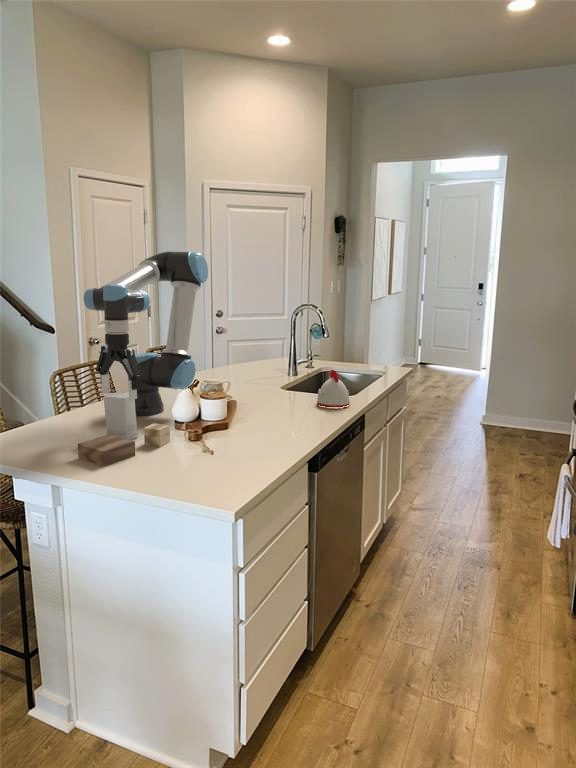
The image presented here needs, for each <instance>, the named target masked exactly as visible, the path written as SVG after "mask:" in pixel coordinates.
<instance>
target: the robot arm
mask: <svg viewBox="0 0 576 768" xmlns="http://www.w3.org/2000/svg"><path fill="white" fill-rule="evenodd" d="M208 278H209V267H208V261H207V260H206V258H205V256H204V254H202V253H200V252H198V251H197V252H195V251H164V252H163V251H162V252H160V253H157V254H154V255H151V256H150V257H147V258H145V259H144V260H142V261H141V262H139V264H138V266H136V267H135V268H133V269H131V270H129V271H127V272H126V273H124V274H122V275H121V276H119V277H117V278H115V279H114V280H112V281H110V282H109V283H107V284H105V285H103V286H100V287H98V288H96V287H94V288H88V289H86V290H85V292H84V293H83V303H84V306H85V308H86V309H88V310H91V311H96V312H98V311H99V312H103V313H104V314H103V315H104V318H103V319H104V332H105V334H104V343H105V345H101V346H100V354H99V357H98V360H97V364H96V367H95V372H97V373H99V375H100V384H101V394H102V395H105V394H106V395H107V394H111V389H110V385H111V383H110V374H109V370H111V367H112V365H113V364H114V362H119V364H121V366H122V367H123V370H125V372H126V374H127V381H128V385H127V386H128V394H129V400H133V399H135V411H136V416H151V415H153V416H154V415H157V414H160V413H163V412H164V410H165V407H164V405H165V404H164V402H163V401H162V397H161V393H160V390H159V389H160V388H164V389H173V390H185V389H188V387H190V385H192V383H193V381H194V378H195V376H196V375H195V374H196V364H195V362H194V361H193V360H192V355H191V354H190V353H189V348H190V347H189V346H190V340H191V339H190V338H191V333H192V332H191V331H192V324H193V316H194V311H195V310H194V309H195V301H196V294H197V291H199V290H201V286H202V284H203V283H205V282H206V281H207V280H208ZM159 282H170V285H171V287H172V288H173V293H172V301H171V306H170V307H171V308H170V315H169V320H168V321H169V323H168V331H167V337H166V345H165V348H164V349H163V350H162V351H161V353H160V357H159V354H158V353H157V352H145V353H138V354H137V353H135V352H136V351H135V349H134V348H130V349H129V348H128V345H129V344H130V334H129V333H128V332H129V331H130V329H129V328H130V327H129V326H130V325H129V314H131V313H132V314H133V313H141V312H144V311H147V309H148V308H149V307H150V306H151V305H150V303H151V299H150V296H149V294H148V293H147V291H145V290H142V289H143V288H145V287H146V286H148V285H154V284H156V283H159ZM184 388H185V389H184Z"/></svg>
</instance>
